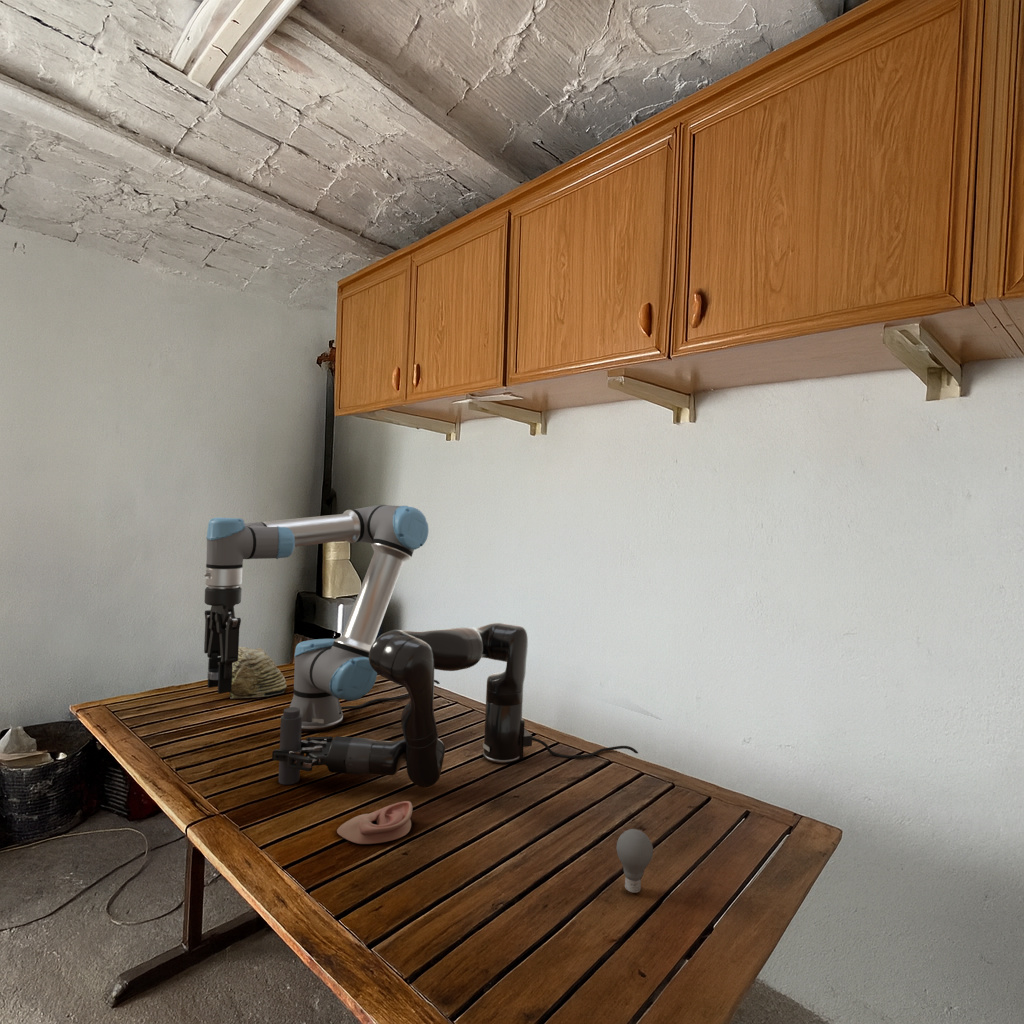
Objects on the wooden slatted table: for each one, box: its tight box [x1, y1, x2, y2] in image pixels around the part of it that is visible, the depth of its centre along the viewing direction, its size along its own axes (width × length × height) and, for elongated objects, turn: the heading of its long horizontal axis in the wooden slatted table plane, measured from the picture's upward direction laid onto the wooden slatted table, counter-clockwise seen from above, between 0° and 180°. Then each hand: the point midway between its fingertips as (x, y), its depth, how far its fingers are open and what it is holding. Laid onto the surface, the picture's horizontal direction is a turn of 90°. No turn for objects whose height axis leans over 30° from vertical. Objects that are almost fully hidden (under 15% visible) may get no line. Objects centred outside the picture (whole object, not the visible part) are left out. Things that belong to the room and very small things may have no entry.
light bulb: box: [615, 828, 654, 894], centre depth 106 cm, size 6×6×10 cm
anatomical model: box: [336, 800, 414, 845], centre depth 121 cm, size 13×4×12 cm
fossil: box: [229, 646, 288, 699], centre depth 198 cm, size 9×18×15 cm, turn 132°
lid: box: [207, 667, 219, 680], centre depth 143 cm, size 5×5×2 cm
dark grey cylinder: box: [278, 706, 302, 786], centre depth 141 cm, size 4×4×16 cm
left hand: (219, 689), depth 143 cm, fingers closed on lid, 5 cm apart
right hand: (278, 750), depth 141 cm, fingers closed on dark grey cylinder, 4 cm apart
